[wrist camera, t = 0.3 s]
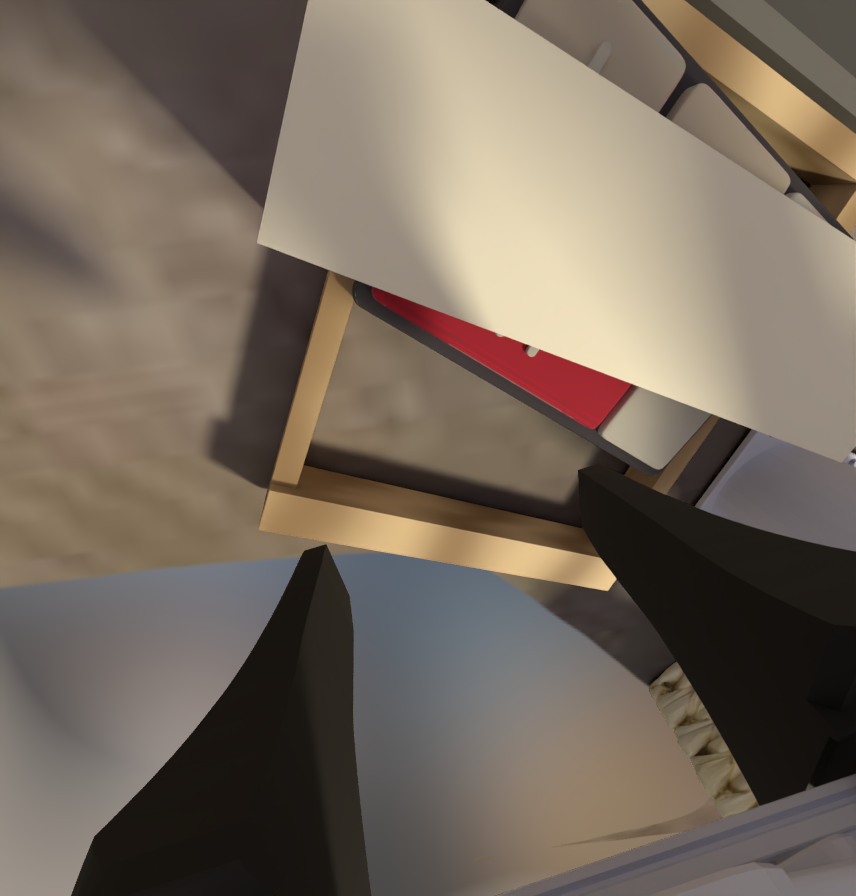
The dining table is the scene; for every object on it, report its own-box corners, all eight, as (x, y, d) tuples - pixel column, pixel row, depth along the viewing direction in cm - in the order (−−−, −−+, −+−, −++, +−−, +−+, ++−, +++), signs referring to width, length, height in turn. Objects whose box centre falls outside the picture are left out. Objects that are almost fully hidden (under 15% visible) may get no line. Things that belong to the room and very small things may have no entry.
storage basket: (622, 683, 35) (790, 962, 22) (808, 549, 31) (1139, 792, 18) (741, 757, 46) (899, 973, 33) (889, 665, 42) (1132, 868, 29)
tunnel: (1015, -32, 16) (1369, -152, 11) (718, 399, 23) (841, 462, 18) (489, -671, 9) (738, -2043, 4) (282, 228, 16) (256, 242, 10)
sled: (843, 169, 18) (911, 165, 16) (585, 559, 27) (607, 590, 24) (438, -127, 12) (461, -196, 10) (265, 495, 21) (258, 530, 18)
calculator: (568, -125, 10) (887, 248, 16) (510, -33, 14) (782, 242, 19) (346, 303, 14) (666, 490, 19) (347, 285, 18) (614, 445, 23)
